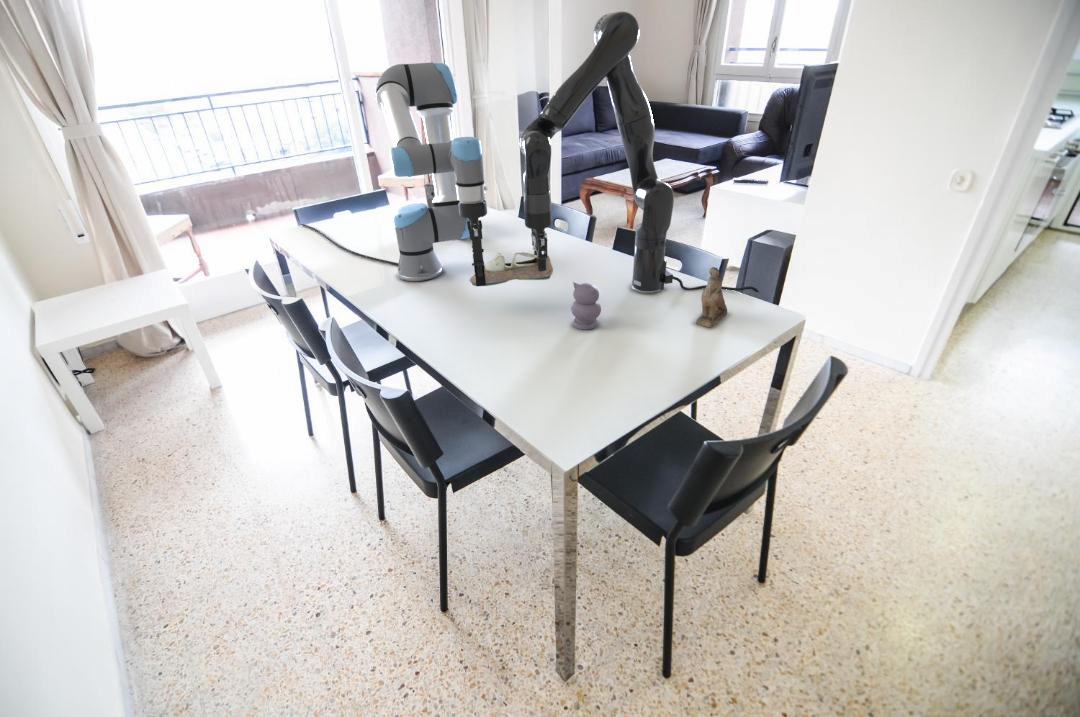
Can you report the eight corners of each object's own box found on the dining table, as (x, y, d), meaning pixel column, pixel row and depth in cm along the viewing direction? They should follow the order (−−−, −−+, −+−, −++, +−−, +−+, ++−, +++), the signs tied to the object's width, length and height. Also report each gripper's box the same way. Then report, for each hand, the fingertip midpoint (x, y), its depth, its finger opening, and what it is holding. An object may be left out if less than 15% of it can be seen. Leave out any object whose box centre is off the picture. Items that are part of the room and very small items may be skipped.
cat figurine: (606, 323, 139) (608, 283, 132) (589, 334, 134) (589, 293, 128) (582, 314, 144) (583, 276, 138) (564, 324, 139) (564, 285, 133)
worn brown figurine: (709, 335, 136) (713, 280, 124) (691, 329, 139) (693, 274, 128) (730, 313, 142) (736, 258, 130) (712, 307, 145) (716, 253, 133)
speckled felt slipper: (469, 279, 149) (465, 253, 144) (549, 270, 151) (548, 243, 147) (470, 290, 142) (467, 263, 137) (555, 280, 144) (554, 253, 140)
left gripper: (488, 209, 125) (495, 292, 137) (483, 190, 142) (490, 266, 154) (458, 211, 124) (468, 295, 136) (457, 192, 141) (466, 268, 153)
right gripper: (556, 214, 131) (557, 274, 139) (546, 201, 143) (548, 257, 152) (527, 216, 130) (531, 276, 139) (520, 203, 142) (524, 259, 151)
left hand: (480, 280), depth 145 cm, fingers closed on speckled felt slipper, 7 cm apart
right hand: (540, 266), depth 145 cm, fingers open, 6 cm apart
